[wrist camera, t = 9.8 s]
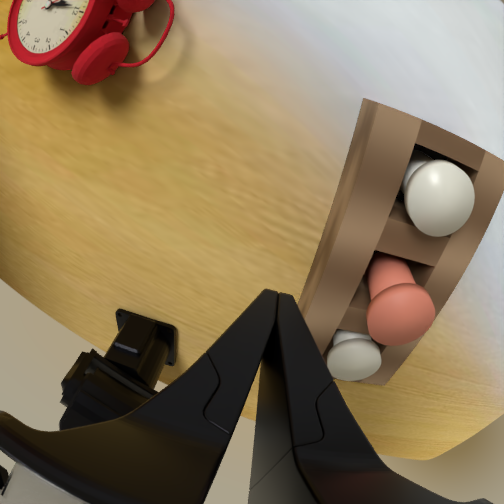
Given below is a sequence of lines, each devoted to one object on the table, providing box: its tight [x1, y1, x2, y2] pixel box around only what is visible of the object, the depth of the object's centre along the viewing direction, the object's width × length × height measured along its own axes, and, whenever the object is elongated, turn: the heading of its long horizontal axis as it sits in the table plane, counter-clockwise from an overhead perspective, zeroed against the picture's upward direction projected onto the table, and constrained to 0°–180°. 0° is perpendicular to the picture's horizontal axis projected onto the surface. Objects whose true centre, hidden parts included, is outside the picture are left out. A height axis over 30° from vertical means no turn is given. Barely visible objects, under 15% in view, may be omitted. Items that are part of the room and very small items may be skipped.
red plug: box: [365, 252, 435, 346], centre depth 17 cm, size 4×4×5 cm
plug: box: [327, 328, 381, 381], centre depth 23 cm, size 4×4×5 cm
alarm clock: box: [0, 0, 174, 85], centre depth 13 cm, size 10×6×15 cm
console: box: [297, 98, 504, 385], centre depth 20 cm, size 20×9×4 cm, turn 169°
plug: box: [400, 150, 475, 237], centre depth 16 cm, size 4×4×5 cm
